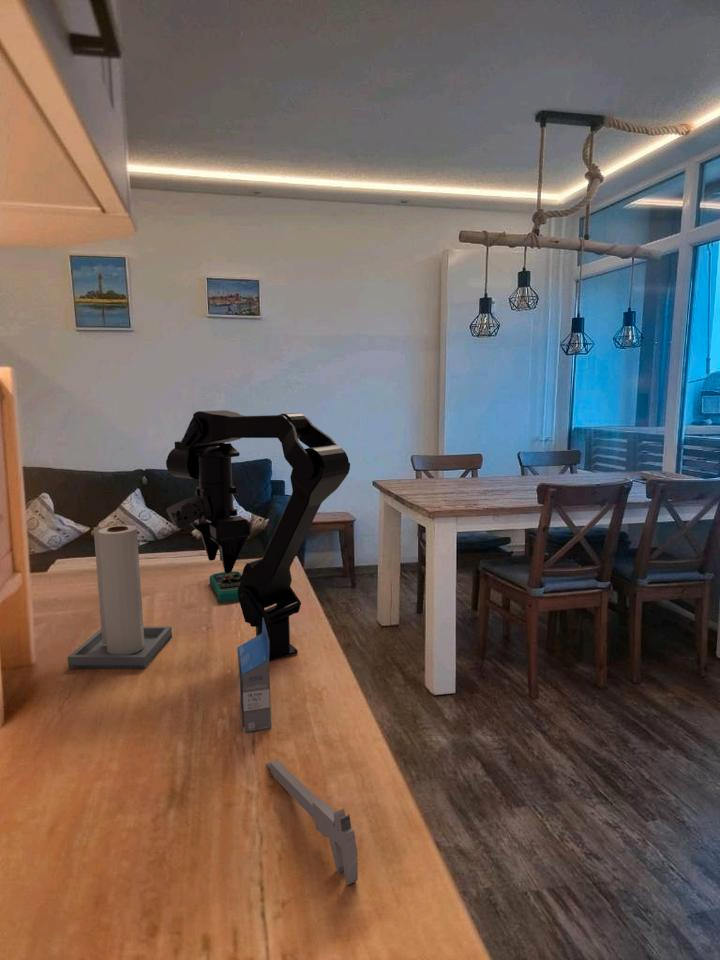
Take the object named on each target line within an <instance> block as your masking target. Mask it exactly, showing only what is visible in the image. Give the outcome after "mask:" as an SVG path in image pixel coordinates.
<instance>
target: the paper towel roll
mask: <svg viewBox="0 0 720 960" xmlns="http://www.w3.org/2000/svg"><path fill="white" fill-rule="evenodd" d="M93 539H94V550H95V563H96V564H95V565H96V575H97V586H98V587H97V589H98V590H97V591H98V601H99V615H100V626H101V627H100V629H101V630H102V643H103V644H107V652H108V653H109V654H110V655H130V654H133V653H136V652H138V651H140V650H142V649H143V647H144V646H145V644H144V629H143V626H144V617H143V616H144V615H143V604H142V602H143V600H142V589H141V572H140V557H139V555H140V554H139V543H138V542H139V541H138V540H139V539H138V528H137V526H135V525H110V526H98V527H97V526H96V527H93Z"/></svg>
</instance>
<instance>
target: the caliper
mask: <svg viewBox="0 0 720 960" xmlns="http://www.w3.org/2000/svg"><path fill="white" fill-rule="evenodd" d="M266 767H267V768H268V769H269V771H270V773H271V774H272V776H273V778H274V779H275V780H276V782H278V783H279V784H280V786H282V788H284V790H286V792H288V794H289V795H290V796H291V797H292V798H293V799H294V800H295V801H296V802H297V803H298V805H300V806H301V807H302V809H303V810H304V811H305V813H307V814H308V815H309V816H310V817H311V818H312V820H314V826H315V830H316V831H317V832H319V833H320V834H321V836H322V837H324V838H327V839H328V840H329V842H330V847H331V852H332V856H333V860H334V864H335V865H334V866H335V870H336V873H337V874H338V875H341V874H344V879H345V881H344V882H345V885H346V886H349V885H352V883H355V882H357V881H358V875H359V872H358V870H359V869H358V866H359V864H358V861H359V860H358V848H357V842H356V834H355V829H354V828H353V827H352V823H351V817H350V815H351V814H347V815H346V812H345V810H344V808H341V809H339V810H335V809H333V807H331V806H330V805H329V804H328V803H327V802H326V801H325V800H324V799H323V798H318V797H317V796H316V795H315V794H314V793H313V792H312V791H311V790H310V789H309V788H308V787H306V786H305V784H304V783H303V782H301V781H300V780H299V779H298V777H296V776H295V775H294V774H293V773H292V772H291V771H290V769H288V768H287V767H286V766H285V765H284V764H283V763H282V762H281V761H280V760H279V759H275V760H272V761H269V762H266Z"/></svg>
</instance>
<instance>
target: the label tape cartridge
mask: <svg viewBox="0 0 720 960" xmlns="http://www.w3.org/2000/svg"><path fill="white" fill-rule="evenodd" d="M262 618H263V617H262ZM265 638H266V640H265ZM269 642H270V641H269V637H268V633H267V629H266V625H265V622H264V618H263V619H262V633H261V634H260V635H258V636H257V637H256V636H255V637H254V638H251V639H250V640H248V641H246V642H244V643H242V644H241V645H239V646H237V663H238V664H237V665H238V666H237V667H238V668H237V669H238V685H239V686H238V687H239V705H240V713H241V714H240V715H241V722H242V730H243V734H249V733H250V734H251V733H257V732H261V731H262V732H263V731H267V730H268V731H269V730H271V729H272V711H271V709H272V708H271V706H272V705H271V684H270V683H271V681H270V661H269Z"/></svg>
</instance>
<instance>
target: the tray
mask: <svg viewBox="0 0 720 960" xmlns="http://www.w3.org/2000/svg"><path fill="white" fill-rule="evenodd" d="M143 629H144V644H145V646H144V647H143V649H142V650H140V651H138V652H136V653H133V654H130V655H110V654H109V653H108V652H107V644H103V643H102V630H101V628H100V629H99V630H98V631H96V632H95V633H94V634H92V635H91V636H90V637H89V638H88V639H87V640H86V641H84V642H83V643H82V644H81V645H79V646H78V648H76V649H75V650H74V651H73V652H71V653H70V654H69V655H68V656H67V665H68V666H67V667H68V669H72V670H73V669H74V670H75V669H76V670H77V669H79V670H81V669H84V670H86V669H88V670H89V669H90V670H91V669H92V670H94V669H97V670H118V669H119V670H122V669H123V670H146V668H147V667H148V666H149V665H150V664H151V663H152V662H153V660H154V659H155V658H156V657H157V656H158V654H159V653H160V652H161V651H162V650H163V648H164V647H165V646H166V645H167V644H168V642H169V641H170V640H171V638H173V629H172V626H169V625H168V626H165V625H164V626H158V625H157V626H152V625H150V626H145V625H143Z"/></svg>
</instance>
